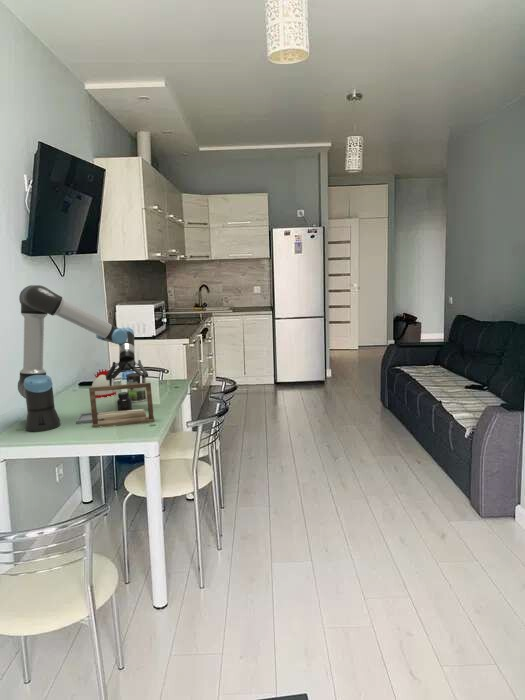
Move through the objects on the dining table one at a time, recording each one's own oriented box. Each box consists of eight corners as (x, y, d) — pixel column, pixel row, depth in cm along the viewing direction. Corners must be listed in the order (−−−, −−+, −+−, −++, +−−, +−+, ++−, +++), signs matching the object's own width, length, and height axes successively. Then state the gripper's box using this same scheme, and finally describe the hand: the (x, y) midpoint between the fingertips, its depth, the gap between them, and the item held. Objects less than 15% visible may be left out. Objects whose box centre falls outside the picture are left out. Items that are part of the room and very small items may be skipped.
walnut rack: (153, 422, 248) (150, 384, 245) (92, 427, 244) (88, 389, 242) (154, 418, 254) (150, 381, 251) (94, 424, 250) (90, 386, 248)
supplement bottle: (120, 416, 262) (118, 391, 260) (134, 415, 262) (132, 391, 260) (116, 420, 255) (114, 395, 253) (130, 419, 255) (128, 394, 253)
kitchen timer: (119, 394, 309) (117, 369, 307) (95, 399, 302) (92, 372, 299) (111, 391, 321) (108, 366, 319) (87, 395, 313) (85, 369, 311)
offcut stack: (145, 420, 247) (144, 411, 247) (97, 424, 245) (96, 415, 244) (146, 417, 253) (145, 408, 252) (99, 421, 250) (98, 412, 249)
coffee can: (141, 402, 287) (138, 376, 285) (124, 402, 291) (122, 376, 289) (151, 398, 297) (149, 372, 295) (135, 397, 300) (132, 372, 298)
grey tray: (105, 421, 254) (105, 418, 253) (76, 424, 252) (75, 420, 252) (109, 414, 267) (108, 411, 266) (81, 416, 265) (80, 413, 264)
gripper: (152, 356, 281) (154, 391, 269) (102, 360, 277) (102, 396, 265) (151, 348, 275) (152, 383, 263) (100, 352, 271) (99, 387, 259)
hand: (127, 389), depth 264 cm, fingers open, 13 cm apart
